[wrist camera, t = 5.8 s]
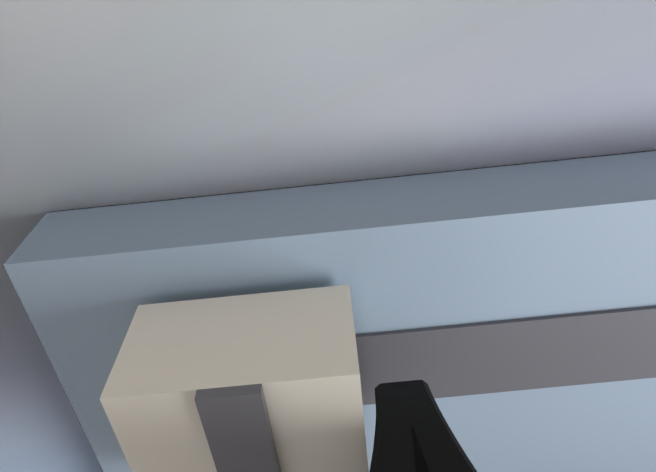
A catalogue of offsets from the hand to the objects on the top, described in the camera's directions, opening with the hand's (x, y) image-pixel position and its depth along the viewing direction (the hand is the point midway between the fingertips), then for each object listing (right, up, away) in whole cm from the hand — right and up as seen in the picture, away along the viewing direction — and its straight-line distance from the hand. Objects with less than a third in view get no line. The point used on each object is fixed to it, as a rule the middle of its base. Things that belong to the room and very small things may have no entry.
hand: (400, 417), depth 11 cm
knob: (-3, 0, +1) cm, 3 cm away
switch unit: (+1, -8, +9) cm, 12 cm away
